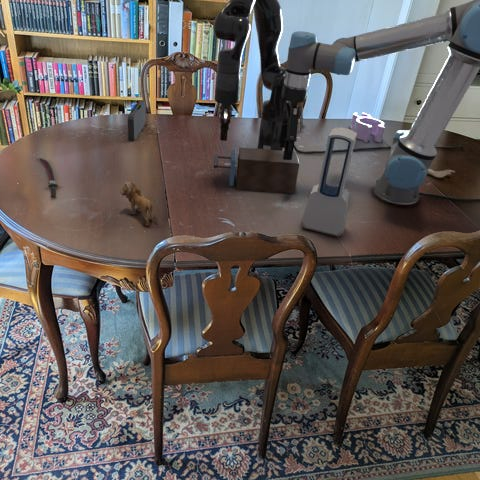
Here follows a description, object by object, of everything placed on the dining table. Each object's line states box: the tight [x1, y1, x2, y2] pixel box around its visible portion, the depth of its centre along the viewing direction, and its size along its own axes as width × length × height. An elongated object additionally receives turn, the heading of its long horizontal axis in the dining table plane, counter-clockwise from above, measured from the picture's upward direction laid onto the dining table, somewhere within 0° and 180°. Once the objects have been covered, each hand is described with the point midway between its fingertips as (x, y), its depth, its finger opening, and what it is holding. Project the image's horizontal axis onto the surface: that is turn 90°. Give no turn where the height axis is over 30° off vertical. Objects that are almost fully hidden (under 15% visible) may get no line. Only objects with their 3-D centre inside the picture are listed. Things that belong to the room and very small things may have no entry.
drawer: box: [213, 149, 239, 187], centre depth 158 cm, size 24×9×9 cm, turn 91°
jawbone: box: [427, 167, 456, 179], centre depth 185 cm, size 9×20×2 cm, turn 50°
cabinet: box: [235, 147, 300, 194], centre depth 159 cm, size 20×10×11 cm, turn 91°
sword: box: [40, 158, 59, 198], centre depth 151 cm, size 31×3×1 cm, turn 26°
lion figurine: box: [119, 181, 159, 227], centre depth 134 cm, size 15×5×9 cm, turn 50°
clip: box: [349, 112, 386, 143], centre depth 214 cm, size 20×12×7 cm, turn 11°
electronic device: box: [300, 127, 357, 237], centre depth 132 cm, size 12×8×30 cm, turn 71°
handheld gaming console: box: [127, 99, 147, 141], centre depth 190 cm, size 23×3×10 cm, turn 178°
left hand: (223, 139), depth 152 cm, fingers closed
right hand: (284, 151), depth 155 cm, fingers open, 13 cm apart
